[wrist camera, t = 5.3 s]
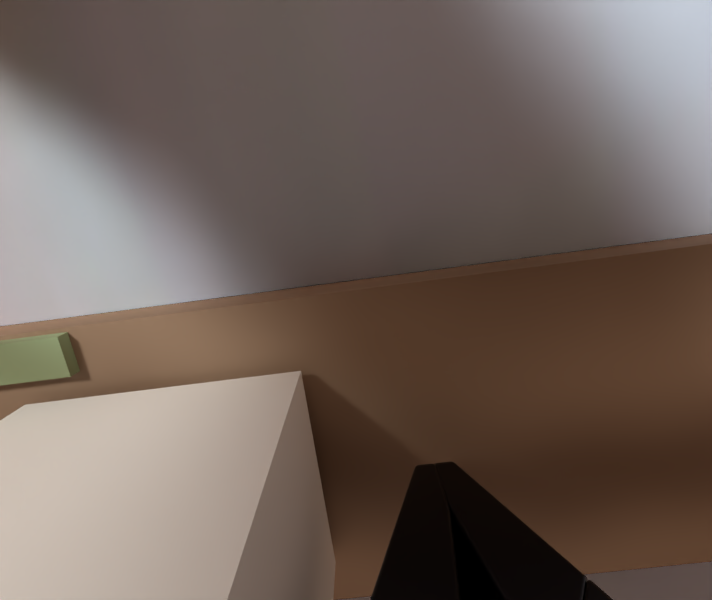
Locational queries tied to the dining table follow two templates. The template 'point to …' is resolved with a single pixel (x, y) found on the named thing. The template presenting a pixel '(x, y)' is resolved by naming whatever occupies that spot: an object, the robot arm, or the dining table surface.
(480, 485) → the robot arm
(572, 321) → the gauge board
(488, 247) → the dining table surface
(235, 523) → the block
